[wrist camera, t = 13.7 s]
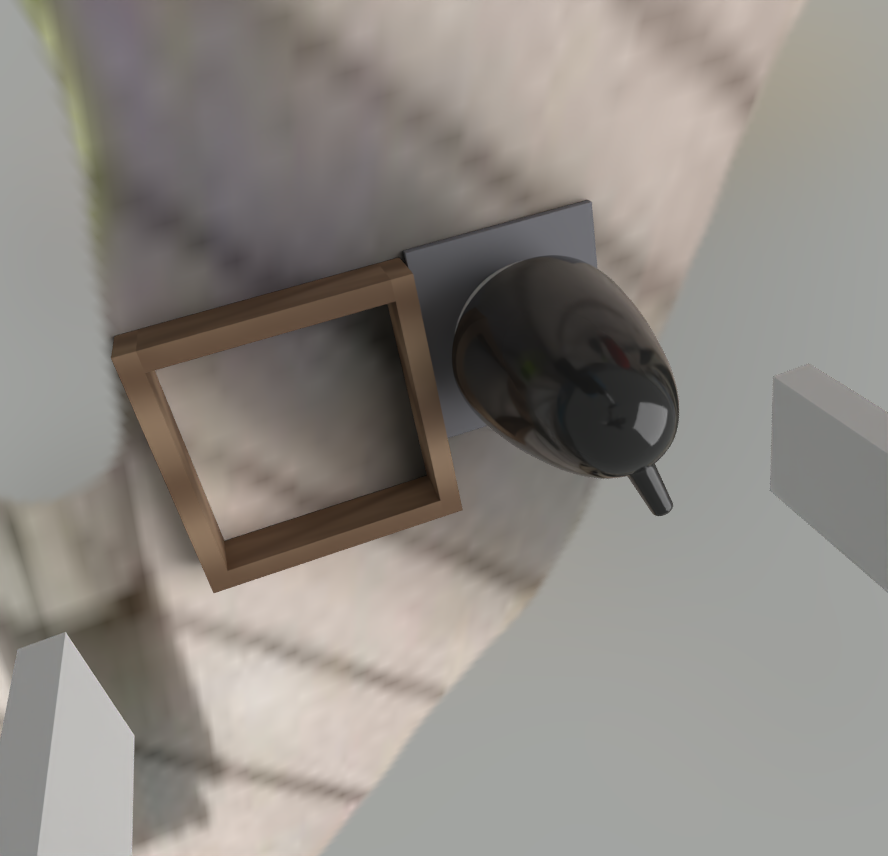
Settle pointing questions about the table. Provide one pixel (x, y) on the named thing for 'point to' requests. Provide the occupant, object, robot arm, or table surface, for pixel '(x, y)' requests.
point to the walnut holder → (259, 321)
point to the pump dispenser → (569, 372)
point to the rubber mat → (468, 264)
